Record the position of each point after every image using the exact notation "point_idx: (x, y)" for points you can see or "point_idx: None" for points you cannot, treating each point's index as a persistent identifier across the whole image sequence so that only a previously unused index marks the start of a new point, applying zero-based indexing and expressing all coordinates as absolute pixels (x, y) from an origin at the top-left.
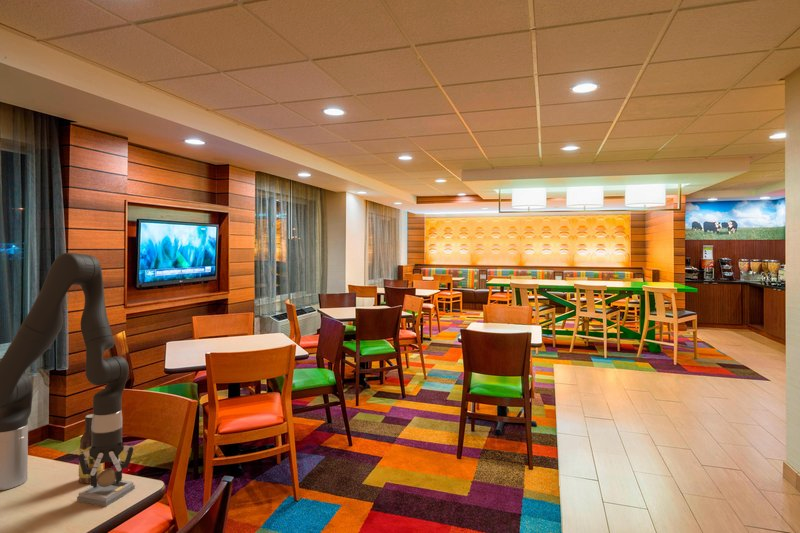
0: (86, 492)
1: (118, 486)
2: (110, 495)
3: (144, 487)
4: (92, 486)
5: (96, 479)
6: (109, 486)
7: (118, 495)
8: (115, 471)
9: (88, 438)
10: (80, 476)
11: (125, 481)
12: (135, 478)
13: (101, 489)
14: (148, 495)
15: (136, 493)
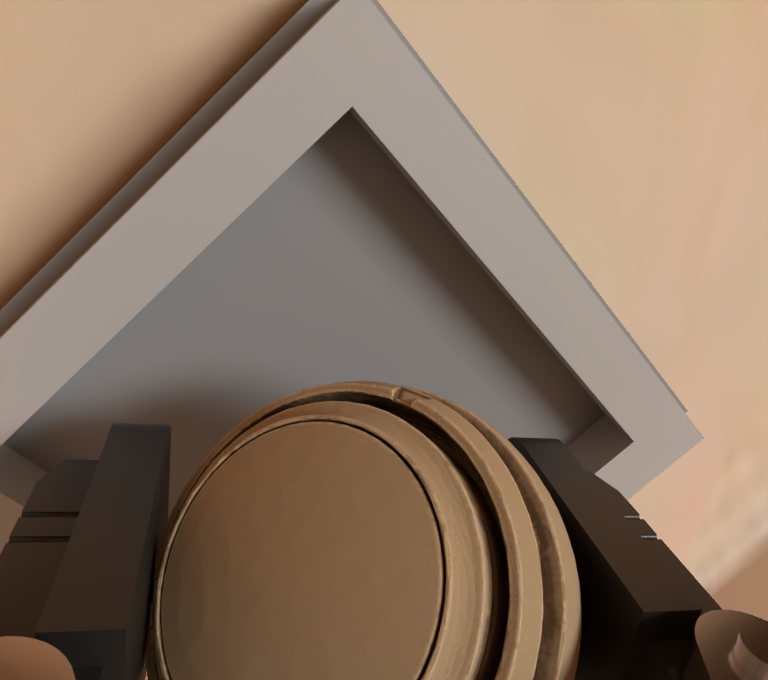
0: (12, 510)
1: (496, 357)
2: None
3: (750, 393)
4: (82, 307)
5: (147, 666)
6: (374, 295)
7: None
8: (579, 645)
9: None
10: None
11: (619, 374)
12: (763, 16)
13: (252, 348)
14: (715, 585)
15: (636, 501)
